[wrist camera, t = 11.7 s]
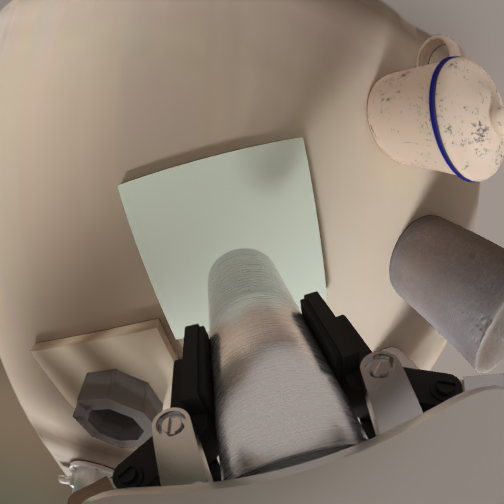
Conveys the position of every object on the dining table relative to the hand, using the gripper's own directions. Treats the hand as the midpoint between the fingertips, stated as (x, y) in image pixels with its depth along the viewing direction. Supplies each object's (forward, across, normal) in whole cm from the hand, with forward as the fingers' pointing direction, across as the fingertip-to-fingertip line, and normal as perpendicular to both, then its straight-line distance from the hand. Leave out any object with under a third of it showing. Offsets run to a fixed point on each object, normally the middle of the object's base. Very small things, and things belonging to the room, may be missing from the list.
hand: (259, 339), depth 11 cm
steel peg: (+5, 0, 0) cm, 5 cm away
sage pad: (+12, 0, 0) cm, 12 cm away
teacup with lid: (+13, -18, -9) cm, 24 cm away
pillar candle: (+13, -19, +7) cm, 24 cm away
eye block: (+12, +16, +13) cm, 24 cm away
